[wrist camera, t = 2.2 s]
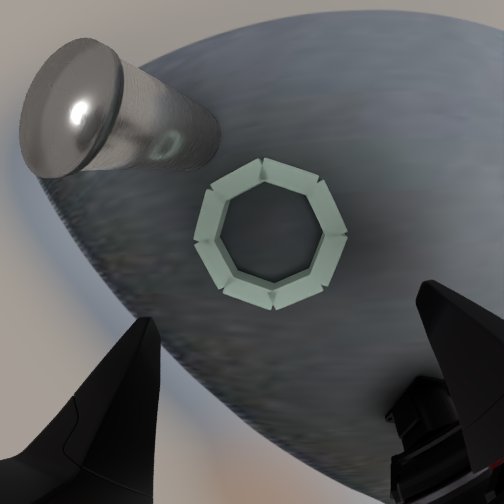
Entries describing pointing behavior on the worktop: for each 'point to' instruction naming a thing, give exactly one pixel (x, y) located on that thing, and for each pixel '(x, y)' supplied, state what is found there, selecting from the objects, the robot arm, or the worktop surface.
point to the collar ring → (252, 286)
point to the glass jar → (109, 117)
